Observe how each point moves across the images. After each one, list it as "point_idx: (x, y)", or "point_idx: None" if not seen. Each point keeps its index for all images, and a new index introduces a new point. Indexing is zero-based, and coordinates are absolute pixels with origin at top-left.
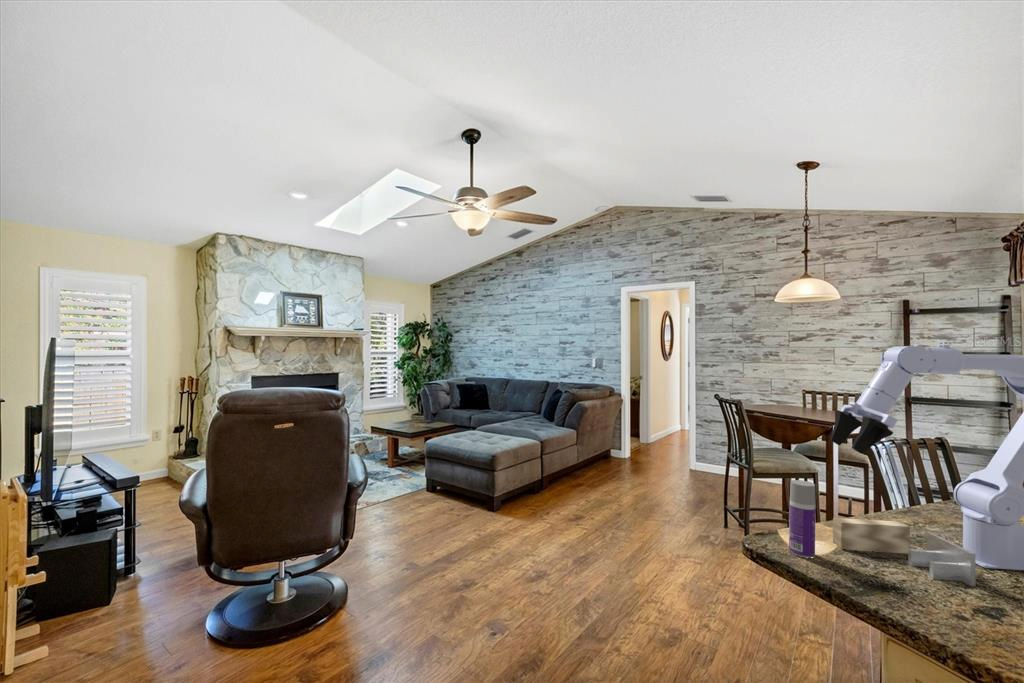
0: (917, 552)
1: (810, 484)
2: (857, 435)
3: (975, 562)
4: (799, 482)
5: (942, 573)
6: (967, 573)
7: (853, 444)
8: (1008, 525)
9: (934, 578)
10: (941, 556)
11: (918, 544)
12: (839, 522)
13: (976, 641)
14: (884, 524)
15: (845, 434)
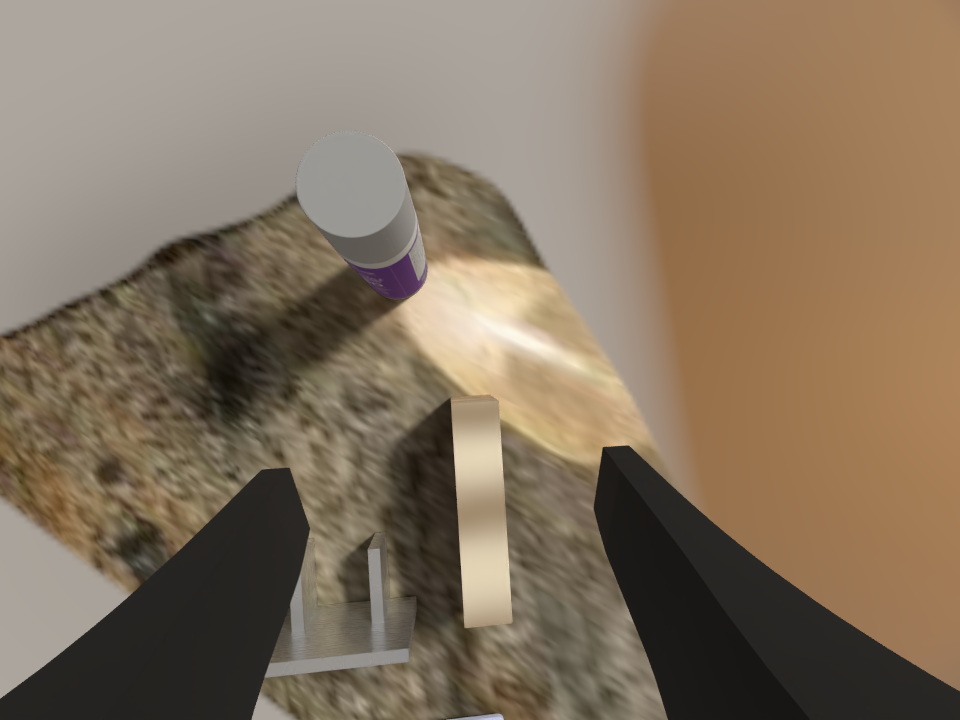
0: (369, 565)
1: (328, 211)
2: (205, 574)
3: None
4: (358, 172)
5: None
6: None
7: (262, 489)
8: None
9: None
10: (360, 621)
11: (539, 651)
12: (461, 402)
13: (9, 432)
14: (467, 549)
15: (649, 621)
